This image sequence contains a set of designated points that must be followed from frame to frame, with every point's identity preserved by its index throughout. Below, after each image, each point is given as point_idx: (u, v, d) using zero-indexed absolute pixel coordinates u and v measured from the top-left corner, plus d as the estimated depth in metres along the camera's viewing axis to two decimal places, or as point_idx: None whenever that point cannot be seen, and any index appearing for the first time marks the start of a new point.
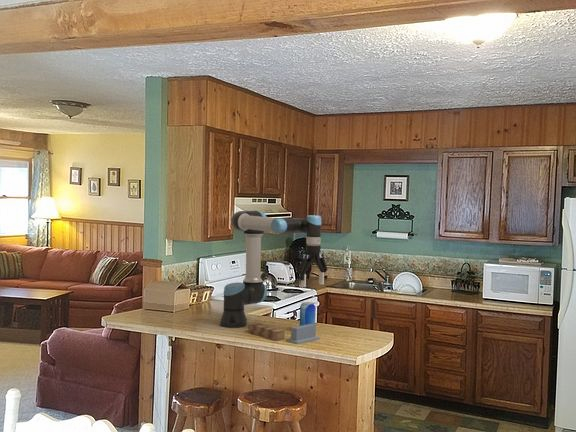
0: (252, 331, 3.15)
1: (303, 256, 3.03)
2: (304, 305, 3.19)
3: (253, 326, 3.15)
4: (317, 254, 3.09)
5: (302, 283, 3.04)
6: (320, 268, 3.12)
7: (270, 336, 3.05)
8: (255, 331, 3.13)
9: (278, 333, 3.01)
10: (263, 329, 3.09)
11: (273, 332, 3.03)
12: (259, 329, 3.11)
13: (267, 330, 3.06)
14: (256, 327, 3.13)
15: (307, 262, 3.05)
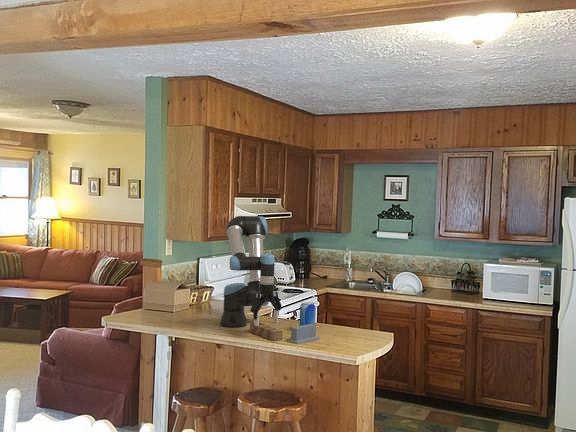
0: (253, 331, 3.16)
1: (256, 295, 3.06)
2: (304, 305, 3.19)
3: (254, 326, 3.16)
4: (271, 293, 3.11)
5: (255, 322, 3.06)
6: (274, 306, 3.14)
7: (268, 336, 3.04)
8: (256, 331, 3.14)
9: (275, 333, 3.00)
10: (262, 329, 3.09)
11: (271, 332, 3.02)
12: (259, 329, 3.11)
13: (266, 330, 3.06)
14: (257, 327, 3.14)
15: (260, 301, 3.07)
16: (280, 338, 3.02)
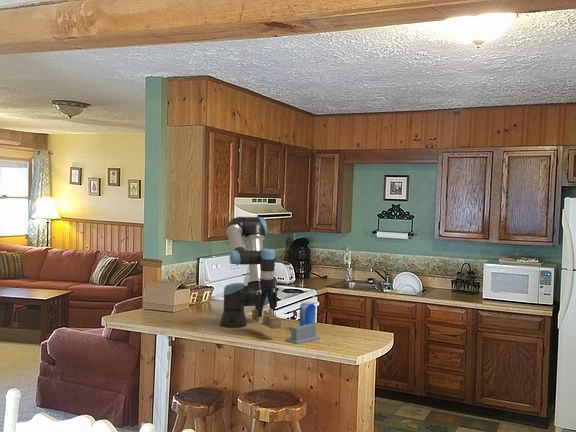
0: (255, 317, 3.17)
1: (257, 293, 3.06)
2: (304, 305, 3.19)
3: (255, 312, 3.16)
4: (271, 287, 3.11)
5: (260, 319, 3.09)
6: (270, 304, 3.13)
7: (267, 323, 3.04)
8: (257, 318, 3.15)
9: (273, 320, 3.00)
10: None
11: (269, 319, 3.02)
12: None
13: (265, 317, 3.06)
14: (257, 313, 3.14)
15: (262, 297, 3.09)
16: (278, 325, 3.02)
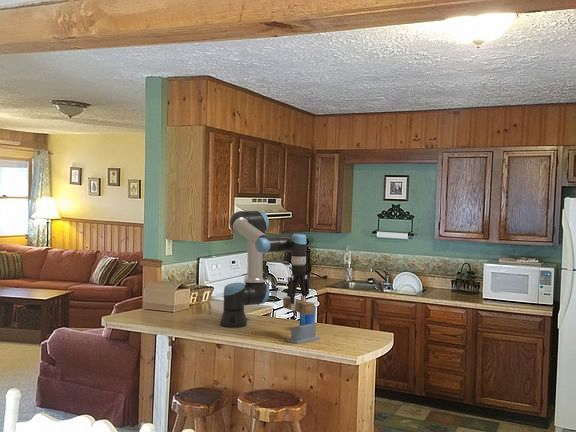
0: (286, 305, 3.09)
1: (289, 279, 2.99)
2: None
3: (287, 300, 3.09)
4: (303, 273, 3.04)
5: (292, 306, 3.01)
6: (302, 291, 3.05)
7: (300, 309, 2.96)
8: (289, 305, 3.07)
9: (307, 306, 2.92)
10: None
11: (302, 305, 2.94)
12: None
13: (298, 303, 2.98)
14: (289, 301, 3.06)
15: (294, 284, 3.01)
16: (312, 311, 2.93)
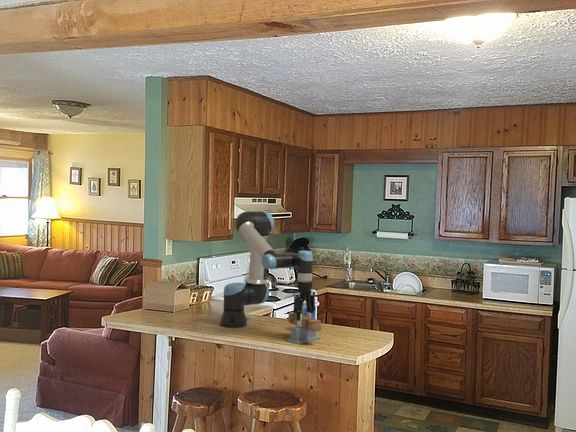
0: (292, 320, 3.09)
1: (295, 296, 2.98)
2: (304, 305, 3.19)
3: (293, 315, 3.08)
4: (309, 289, 3.04)
5: (298, 323, 3.01)
6: (308, 307, 3.05)
7: (306, 326, 2.96)
8: (294, 321, 3.07)
9: (314, 323, 2.92)
10: None
11: (309, 322, 2.94)
12: None
13: (304, 320, 2.98)
14: (295, 316, 3.06)
15: (300, 300, 3.01)
16: (318, 328, 2.93)
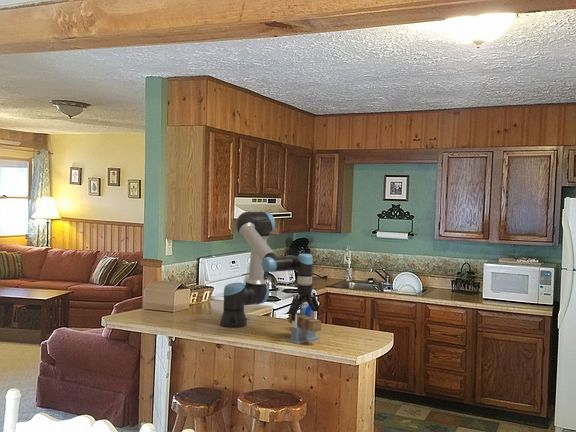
0: None
1: (294, 296, 2.98)
2: (304, 305, 3.19)
3: None
4: (308, 293, 3.03)
5: (293, 323, 2.99)
6: (312, 307, 3.07)
7: (306, 326, 2.96)
8: None
9: (314, 323, 2.92)
10: (301, 319, 3.01)
11: (309, 322, 2.94)
12: (297, 319, 3.04)
13: (304, 320, 2.98)
14: None
15: (298, 302, 3.00)
16: (318, 328, 2.93)
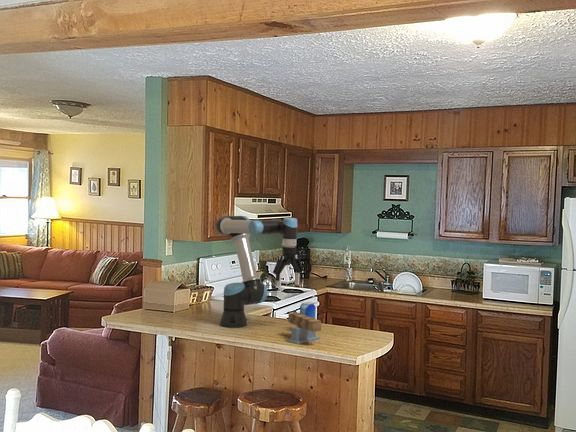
0: (292, 320, 3.09)
1: (279, 257, 3.14)
2: (304, 305, 3.19)
3: (293, 315, 3.08)
4: (293, 255, 3.19)
5: (277, 283, 3.15)
6: (296, 269, 3.23)
7: (306, 326, 2.96)
8: (294, 321, 3.07)
9: (314, 323, 2.92)
10: (301, 319, 3.01)
11: (309, 322, 2.94)
12: (297, 319, 3.04)
13: (304, 320, 2.98)
14: (295, 316, 3.06)
15: (283, 263, 3.16)
16: (318, 328, 2.93)
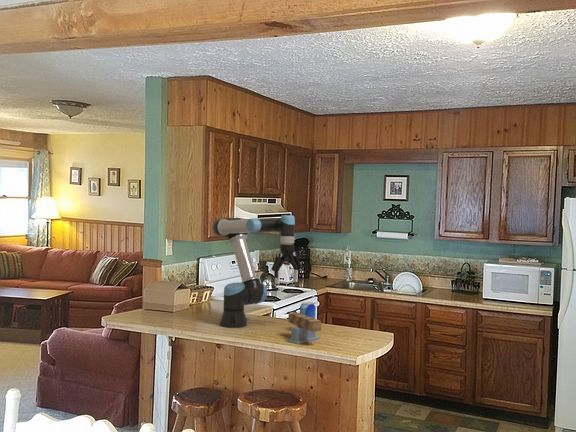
0: (292, 320, 3.09)
1: (277, 254, 3.16)
2: (304, 305, 3.19)
3: (293, 315, 3.08)
4: (291, 252, 3.21)
5: (276, 280, 3.16)
6: (294, 266, 3.25)
7: (306, 326, 2.96)
8: (294, 321, 3.07)
9: (314, 323, 2.92)
10: (301, 319, 3.01)
11: (309, 322, 2.94)
12: (297, 319, 3.04)
13: (304, 320, 2.98)
14: (295, 316, 3.06)
15: (281, 260, 3.18)
16: (318, 328, 2.93)
